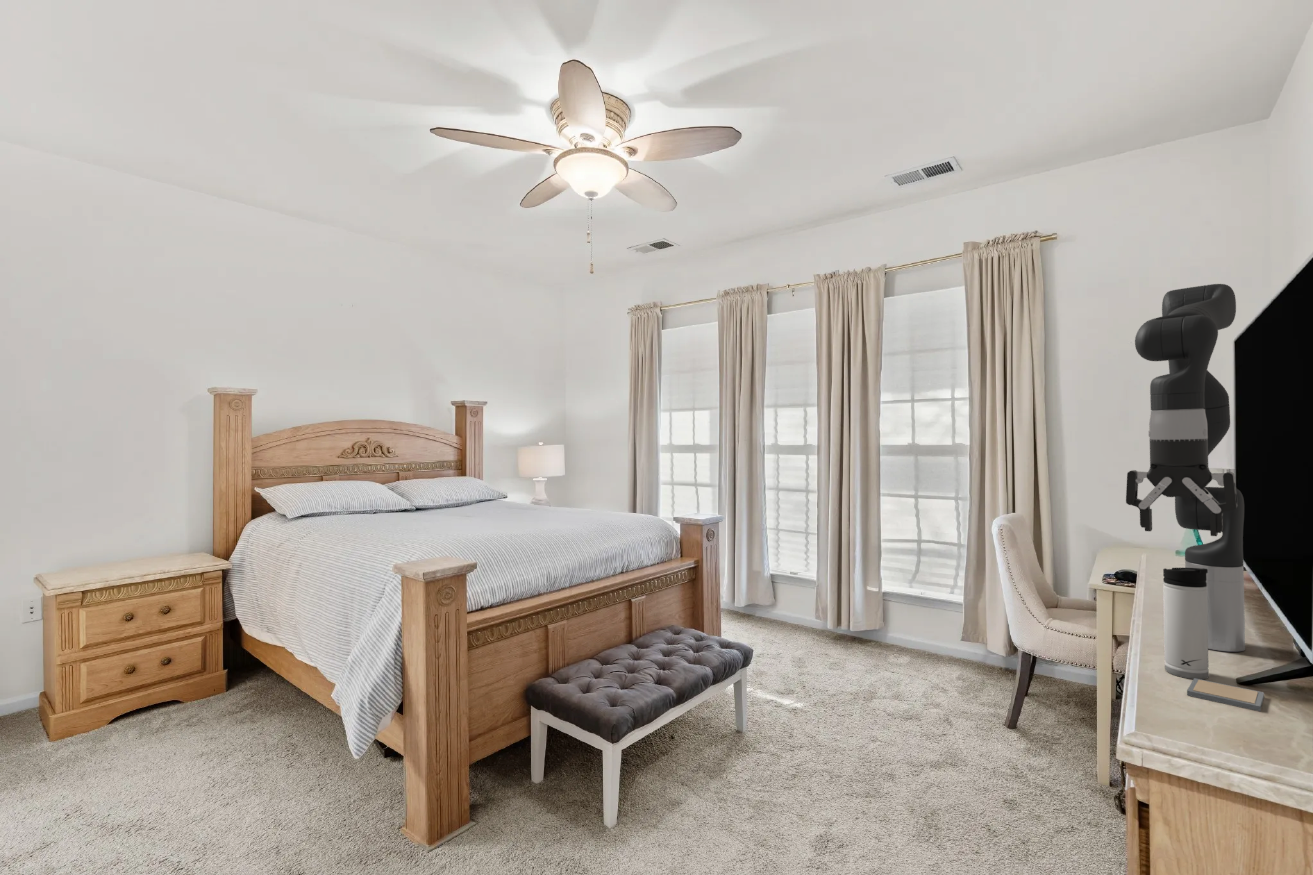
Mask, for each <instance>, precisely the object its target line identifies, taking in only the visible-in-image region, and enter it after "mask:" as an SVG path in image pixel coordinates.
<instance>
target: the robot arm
mask: <svg viewBox="0 0 1313 875" xmlns="http://www.w3.org/2000/svg"><path fill="white" fill-rule="evenodd" d="M1235 294H1236V293H1235V292H1234V290H1233V288H1232V287H1231V286H1230V285H1228V284H1225V283H1213V284H1207V285H1206V284H1205V285H1198V286H1192V287H1191V286H1190V287H1186V288H1178V289H1172V290H1169V291H1167V292H1166V293H1165V294H1164V295H1163V297H1162V302H1161V316H1158V317H1155V318H1152V319H1149V320H1147V321H1145V322H1144V323H1143V324H1142V325H1141V326H1140V327H1139V329H1138V330H1137V332H1136V335H1135V336H1134V346H1135V350H1136V353H1137V354H1138V355H1139V356H1140V357H1141V358H1142V359H1144V360H1146V361H1149V362H1163V361H1164V362H1167V361H1168V370H1169V373H1166V374H1163V375H1159V376H1156V377H1154V378H1152V380H1151V382H1150V385H1149V389H1150V390H1149V393H1150V394H1149V395H1150V397H1149V398H1150V415H1149V416H1150V417H1149V424H1148V426H1149V428H1148V429H1149V430H1148V438H1149V465H1150V466H1149V469H1148V471H1138V470H1135V469H1132V470H1129V471H1127V474H1126V490H1125V491H1126V492H1125V504H1127V505H1128V506H1133V507H1135V508H1138V509H1139V510H1138V511H1139V525H1140V527H1141V529H1142V528H1143V529H1144V531H1145V532H1152V530H1153V509H1152V508H1151V505H1153V504H1154V503H1155V502H1156V500H1158V499H1159V498H1160V497H1161V495H1162V496H1164V497H1166V498H1174V511H1175V518H1176V522H1177V524H1178V525H1179V526H1180V527H1181V528H1183V529H1186V530H1187V529H1189V530H1197V531H1207V532H1210V536H1211V537H1217V536H1218V534H1221V533H1222V535H1221V537H1219V538H1218V539H1215V540H1214V541H1210V542H1206V543H1204V544H1203V543H1202V544H1197V545H1193V546H1189V547H1186V549H1185V550H1184V563H1185V564H1184V568H1201V569H1202V568H1204V569H1207V570H1208V573H1206V579H1207V580H1206V583H1207V589H1206V590H1207V610H1208V650H1214V651H1219V652H1236V653H1237V652H1238V653H1239V652H1243V651H1245V650H1246V626H1245V625H1246V620H1245V579H1244V578H1245V575H1244V571H1245V570H1244V569H1245V568H1244V565H1245V564H1244V538H1243V537H1244V522H1245V500H1244V499H1245V498H1244V496H1243V494H1242V492H1241V490H1239V489H1238V488H1237V487H1236V486H1237V485H1236V476H1235V473H1234V472H1232V471H1226V472H1225V473H1224V472H1218V473H1217V472H1215V473H1212V471H1211V470H1210V468H1209V455H1210V454H1211V453H1212V452H1213V451H1214V449H1216V447H1217V446H1218V445H1219V444H1220V442H1222V440H1223V439H1224V437H1225V436H1226V435H1227V433H1228V431H1229V429H1230V427H1231V412H1230V411H1231V410H1230V396H1229V394H1228V392H1227V390H1226V389H1225V387H1224V385H1222V383H1221V382H1220V381H1219V380H1218V379H1217V378H1216V377H1215V376H1214V375H1213V374H1212V373H1211V372H1210V371H1209V370H1208V367H1209V365H1210V361H1211V359H1212V358H1211V357H1212V355H1213V353H1214V350H1215V348H1216V347H1215V346H1216V344H1217V340H1218V336H1219V331H1220V330H1224V329H1227V328H1229V327H1230V326H1231V325H1232V324H1233V323H1234V320H1235V319H1236V312H1237V301H1236V300H1237V299H1236V295H1235ZM1145 478H1146V479H1147V480H1148V481H1149V482H1150V483H1151V485H1152V486H1153V487H1154V488H1152V489H1151V491H1150V492H1149V493H1148V494H1147V495H1146V496H1145V497H1144V498H1143V499H1140V498H1138V493H1139V490H1138V489H1139V485H1140V484H1141V483H1143V481H1144V480H1145ZM1212 481H1216V483H1217V485H1218V487H1217V486H1215V487H1214V486H1208V485H1209V484H1210V483H1211V482H1212ZM1219 486H1220V487H1219Z"/></svg>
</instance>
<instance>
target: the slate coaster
mask: <svg viewBox="0 0 1313 875" xmlns="http://www.w3.org/2000/svg"><path fill="white" fill-rule="evenodd" d="M1186 696H1188V697H1192V698H1193V697H1194V698H1198V699H1201V700H1207V701H1211V702H1215V703H1220V704H1225V705H1229V706H1233V707H1238V708H1242V709H1247V710H1251V711H1257V712H1261V710H1262V706H1263V703H1264V699H1265V692H1263V691H1261V690H1254V689H1249V688H1245V687H1239V686H1236V685H1235V686H1234V685H1229V684H1225V683H1221V682H1215V681H1210V680H1207V679H1196V678H1194V679H1192V681H1191V682H1190V685H1189V687H1188V688H1187V690H1186Z"/></svg>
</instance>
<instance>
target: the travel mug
mask: <svg viewBox="0 0 1313 875" xmlns="http://www.w3.org/2000/svg"><path fill="white" fill-rule="evenodd" d="M1162 572H1163V581H1162V595H1163V596H1162V597H1163V600H1162V601H1163V602H1162V603H1163V645H1164V651H1163V652H1164V671H1165V672H1167V673H1169V674H1170V675H1173V676H1176V677H1181V678H1184V679H1190V680H1193V679H1194V678H1196V679H1201V680H1207V679H1208V678H1209V677H1210V671H1209V666H1210V665H1209V664H1210V663H1209V649H1208V610H1207V590H1206V589H1207V583H1206V580H1207V579H1206V573H1208V570H1207V569H1204V568H1202V569H1201V568H1185V567H1172V568H1163V571H1162Z"/></svg>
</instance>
